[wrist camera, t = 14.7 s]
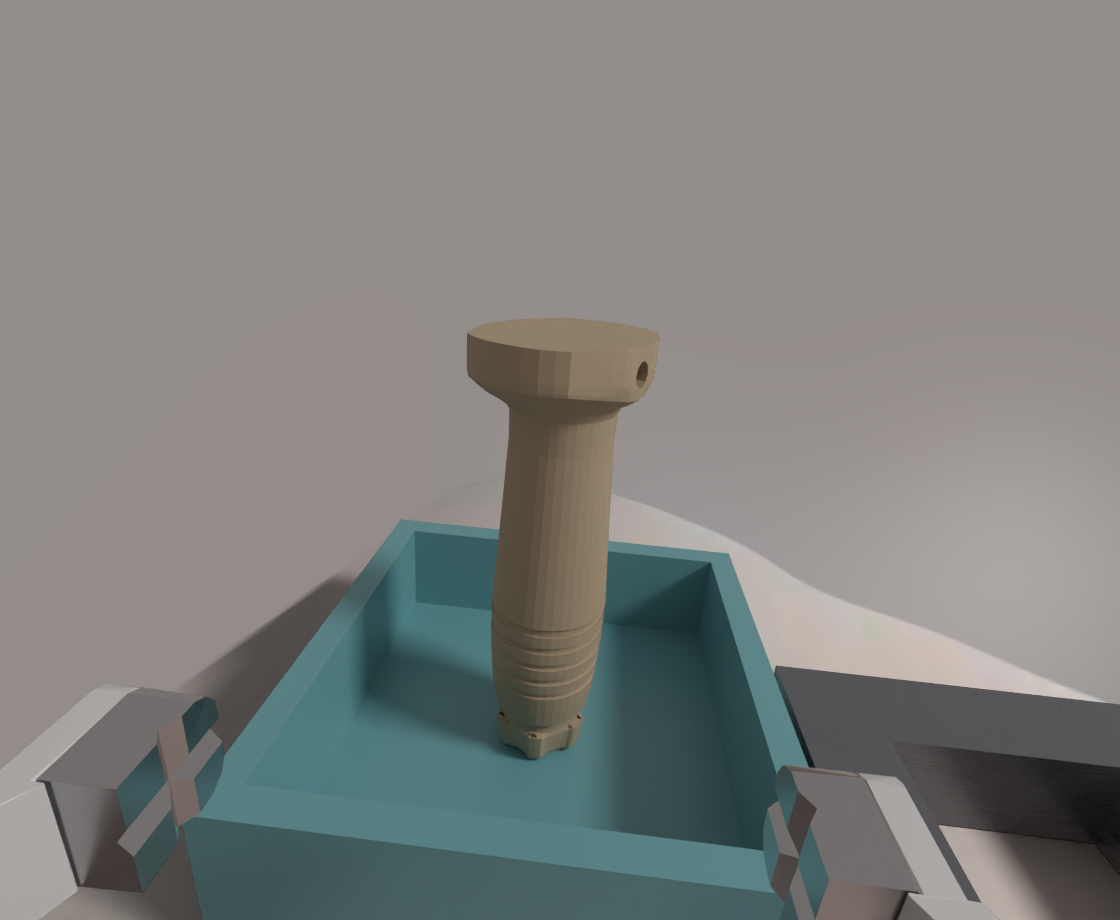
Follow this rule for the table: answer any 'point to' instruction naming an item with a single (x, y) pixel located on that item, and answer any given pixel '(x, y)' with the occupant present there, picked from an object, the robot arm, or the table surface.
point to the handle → (554, 510)
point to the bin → (504, 757)
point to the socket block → (968, 754)
